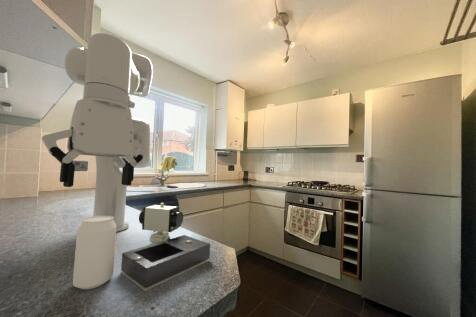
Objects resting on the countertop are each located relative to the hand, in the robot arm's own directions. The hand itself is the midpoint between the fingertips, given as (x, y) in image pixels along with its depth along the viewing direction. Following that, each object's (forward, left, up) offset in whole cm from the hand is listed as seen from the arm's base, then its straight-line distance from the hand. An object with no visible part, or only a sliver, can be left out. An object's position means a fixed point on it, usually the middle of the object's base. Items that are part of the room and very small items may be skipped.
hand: (100, 185), depth 38 cm
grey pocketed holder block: (+5, +13, -18) cm, 23 cm away
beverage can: (0, 0, -19) cm, 19 cm away
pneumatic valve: (-8, +19, -19) cm, 28 cm away
